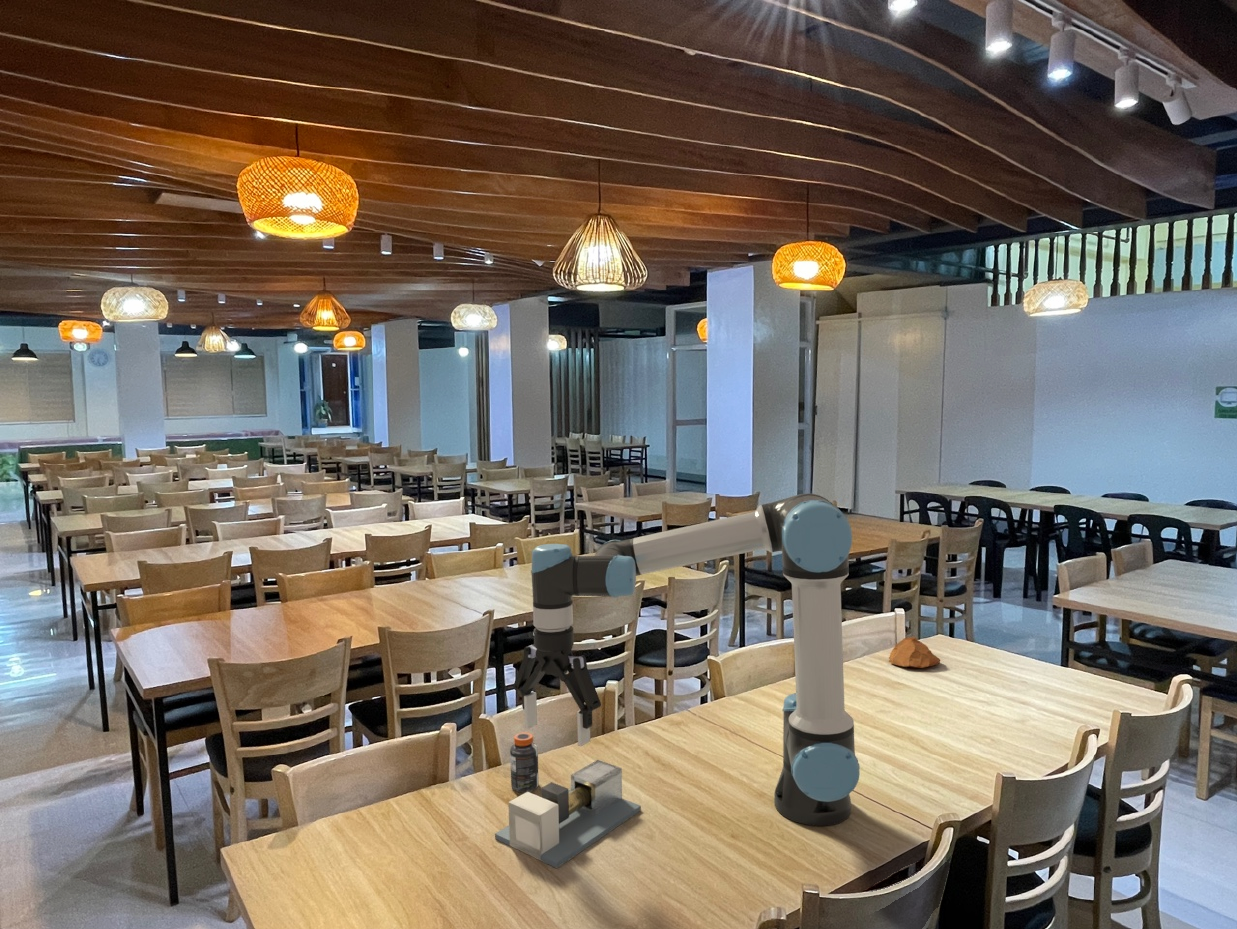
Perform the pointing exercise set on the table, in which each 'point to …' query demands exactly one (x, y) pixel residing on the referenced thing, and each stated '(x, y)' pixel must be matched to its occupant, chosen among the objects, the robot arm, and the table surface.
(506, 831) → the board
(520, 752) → the pill bottle
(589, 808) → the sleeve
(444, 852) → the table surface
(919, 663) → the stone
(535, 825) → the socket
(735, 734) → the table surface
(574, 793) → the brass rod with grip
